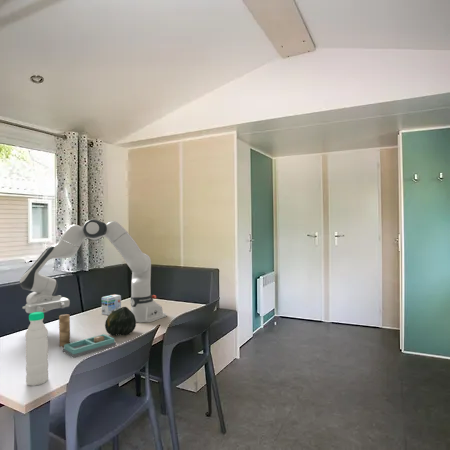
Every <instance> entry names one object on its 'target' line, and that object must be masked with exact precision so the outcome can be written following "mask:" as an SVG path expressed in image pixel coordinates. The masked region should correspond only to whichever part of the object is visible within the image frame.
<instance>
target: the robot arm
mask: <svg viewBox="0 0 450 450" xmlns="http://www.w3.org/2000/svg"><path fill="white" fill-rule="evenodd" d="M102 238H106V239H107V240H109V242H110V243H111V245H112V246H113V247H114V248H115V249H116V250H117V252H118V253H119V255H121V257H122V259H123V260H124V262H125V263H126V265H127V266H128V267H129V269H130V271H131V273H132V274H131V284H130V285H131V286H130V287H131V296H130V307H131V308H130V311H131V312H132V313H133V314H134V316H135V319H136V323H152V322H155V321H157V320H159V319H163V318H166V317H167V316H168V315H167V313H165V312H164V311H163V310H164V309H163V307H162V305H160V304H159V303H158V302H156V301H154V299H157V295H155V294H151V277H152V275H151V274H152V260H151V259H152V258H151V257H150V256H149V254H146V253H145V252H143V251H142V250H141V249H140V247H139V245H138V244H137V242H136V241H135V240H134V239H133V237H132V236H131V235H130V234H129V233H128V231H127V230H126V229H125V228H124V227H123V226H122V225H121V223H119V222H118V221H116V220H112V221H109V222H107V223H105V222H103V221H100V220H98V219H89V220H87V221H86V222H85V223H84V224H83V226H81V225H78V224H71V225H70V226H69V227H68V228H66V230H65V231H64V233H62V236H61V237H60V239H59V241H58V242H56V243H55V244H54V245H50V246H48V247H47V248H45V250H44V251H43V252H42V253H41V254H40V256H39V257H38V258H37V259H36V260H35V261H34V263H33V264H32V265H31V266H30V267H29V268H28V270H26V272H24V273H23V274H22V276H21V277H20V279H19V286H20V287H21V288H22V290H26V291H31V292H30V293H28V295H27V296H26V300H25V301H26V304H25V305H24V306H22V308H21V309H23V310H25V312H26V314H31V313H33V312H43V313H44V314H45V313H48V312H49V311H51V310H56V309H65V308H69V307H70V304H71V302H70V301H71V300H70V299H69V298H67V297H65V296H62V295H59V294H57V295H56V293H57V291H58V286H59V285H58V281H57V280H56V279H55V278H53V277H50V276H46V275H44V274H41V273H40V271H41V270H42V269H43V267H44V266H46V264H47V263H48V262H49V261H50V260H52V259H68V258H69V259H70V258H72V257H74V256H75V255H76V254H77V252H78V251H79V249H80V247H81V245H83V242H84V241H85V240H89V241H90V240H91V241H100V240H101V239H102Z"/></svg>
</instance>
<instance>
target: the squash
mask: <svg viewBox="0 0 450 450" xmlns="http://www.w3.org/2000/svg"><path fill="white" fill-rule="evenodd" d="M136 326H137V322H136V319H135V316H134V314H133V313H132V312H131V309H129V308H128V307H127V306H121V308H119V309H118V310H116V311H114V312H112V313H111V314H110V315H107V318H106V320H105V322H104V327H105V331H106V332H107V333H108V335H110V336H120V335H121V336H123V335H124V336H128V335H130V334H131V333H133V331H134V330H135V329H136Z"/></svg>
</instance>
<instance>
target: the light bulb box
mask: <svg viewBox="0 0 450 450" xmlns="http://www.w3.org/2000/svg"><path fill="white" fill-rule="evenodd" d="M119 308H122V295H120V294H115V293H114V294H110V295H105V296H102V297H101V314H102V315H105V316H106V315H107V316H109V315H110V314H111V313H112V312H114V311H116V310H118V309H119Z"/></svg>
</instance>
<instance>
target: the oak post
mask: <svg viewBox="0 0 450 450" xmlns="http://www.w3.org/2000/svg"><path fill="white" fill-rule="evenodd" d="M70 318H71V315H70V314H67V313H66V314H65V313H64V314H60V315H58V326H59V327H58V329H59V332H58V333H59V335H58V337H59V338H58V340H59V347H61V348H64V345H65V344H69V343H71V321H70V320H71V319H70Z"/></svg>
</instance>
